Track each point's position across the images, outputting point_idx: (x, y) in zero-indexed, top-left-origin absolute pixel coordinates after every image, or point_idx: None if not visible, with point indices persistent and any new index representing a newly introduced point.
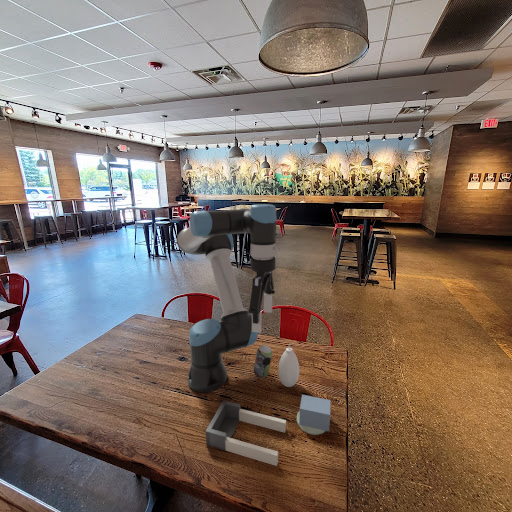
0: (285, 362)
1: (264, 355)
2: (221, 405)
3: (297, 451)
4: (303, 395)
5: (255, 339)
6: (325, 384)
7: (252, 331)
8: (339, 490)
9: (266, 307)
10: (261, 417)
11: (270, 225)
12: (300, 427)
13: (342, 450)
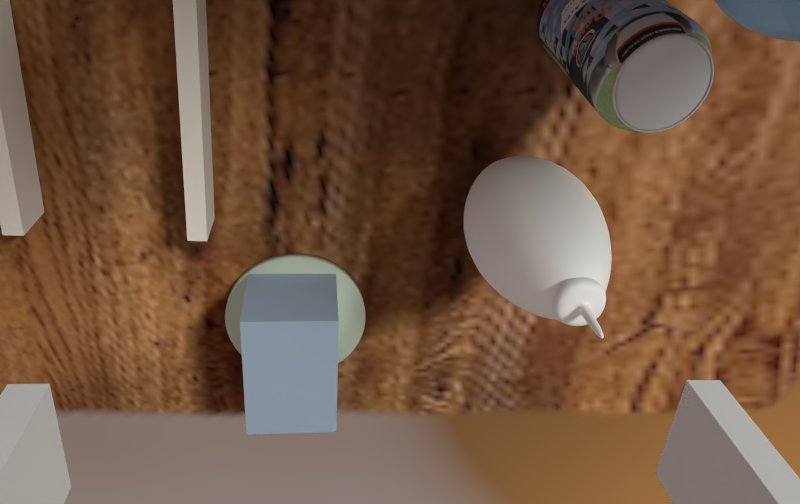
0: (510, 254)
1: (597, 87)
2: None
3: (126, 275)
4: (335, 327)
5: (724, 10)
6: (533, 348)
7: (6, 396)
8: None
9: (716, 476)
10: (180, 122)
11: None
12: (242, 275)
13: (196, 412)
